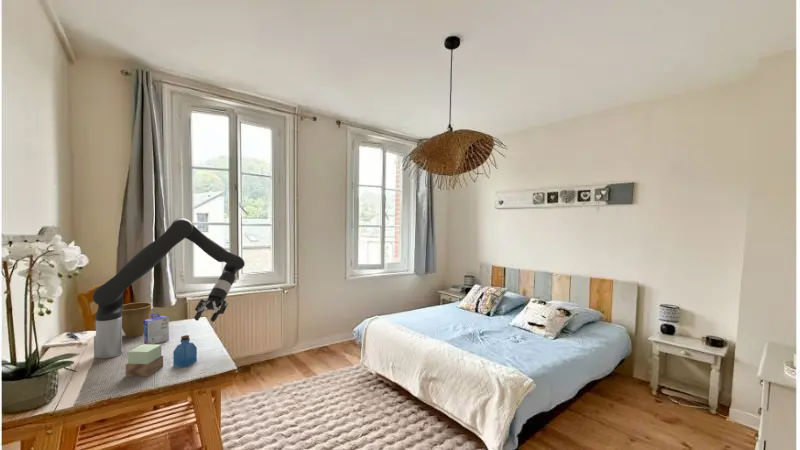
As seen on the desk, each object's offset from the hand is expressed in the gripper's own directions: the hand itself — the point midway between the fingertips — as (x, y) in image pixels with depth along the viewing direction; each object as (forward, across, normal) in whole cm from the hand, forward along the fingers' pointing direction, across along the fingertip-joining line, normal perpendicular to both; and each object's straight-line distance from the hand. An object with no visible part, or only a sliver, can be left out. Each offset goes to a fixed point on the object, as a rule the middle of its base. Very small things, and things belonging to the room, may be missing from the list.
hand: (204, 320), depth 164 cm
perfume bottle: (+19, 0, +3) cm, 20 cm away
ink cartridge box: (+6, -34, +17) cm, 38 cm away
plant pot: (+2, -53, +21) cm, 57 cm away
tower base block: (+26, -10, -4) cm, 29 cm away
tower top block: (+23, -10, -7) cm, 26 cm away
